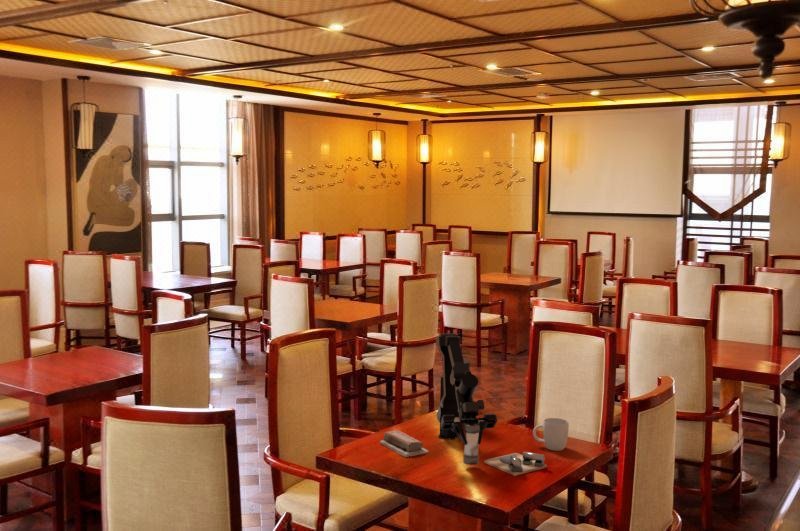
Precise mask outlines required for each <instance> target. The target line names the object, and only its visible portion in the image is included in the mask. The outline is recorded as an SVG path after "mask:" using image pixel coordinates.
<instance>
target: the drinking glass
mask: <svg viewBox="0 0 800 531" xmlns="http://www.w3.org/2000/svg"><path fill="white" fill-rule="evenodd" d="M463 431H464V435H465V439H466V445H464V449H463V450H464V451H463V452H464V453H463V455H462V456H463V458H462V461H463V464H465V465H468V466H477V465H478V464H480V462H479V461H480V455H479V443H478V442H479V432H480V424H479V423H475V422H467V423H465V424H463Z"/></svg>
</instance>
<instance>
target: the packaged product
mask: <svg viewBox="0 0 800 531" xmlns="http://www.w3.org/2000/svg"><path fill="white" fill-rule="evenodd" d="M379 444H380V445H383V446H384V447H386V448H388V449H389V450H391V451H393V452H394V453H397V454H398V455H400V456H403V457H404V458H409V456H410V457H413V456H415V457H416V456H418V455H419V456H420V455H424V454H428V453H429V449H426V448H424V447H423V445H424V444H423V442H422V441H420V440H418V439H417V438H416V439H415V438H414V437H412V436H410V435H408V434H407V433H404V432H403V431H401V430H397V429H395V430H389V431H385V432H384V434H383V439H380V440H379Z"/></svg>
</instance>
